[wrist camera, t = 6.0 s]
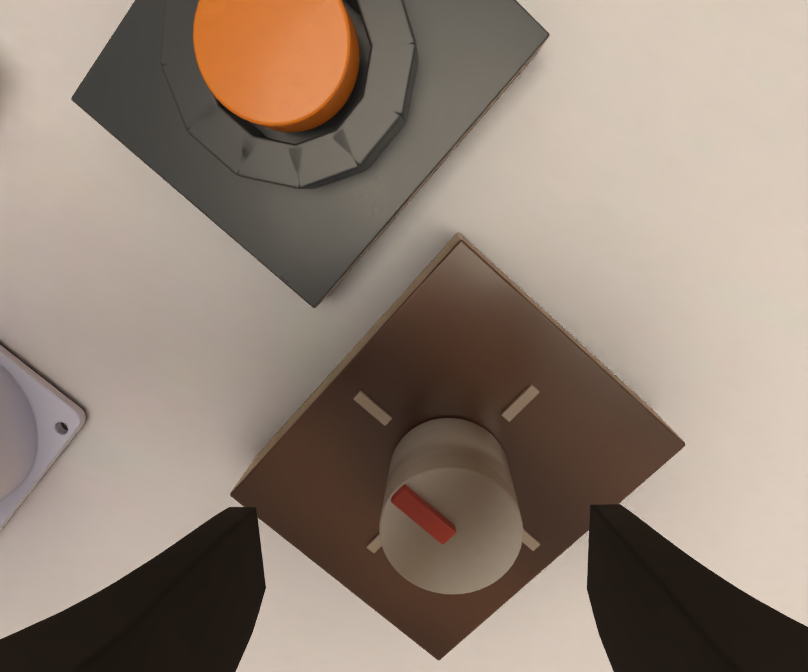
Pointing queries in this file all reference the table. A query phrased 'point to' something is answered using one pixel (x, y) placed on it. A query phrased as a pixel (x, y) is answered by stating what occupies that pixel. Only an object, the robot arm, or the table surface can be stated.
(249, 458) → the table surface
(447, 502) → the dial
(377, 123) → the button box
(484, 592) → the control panel
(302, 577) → the table surface
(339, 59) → the button
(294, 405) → the table surface
